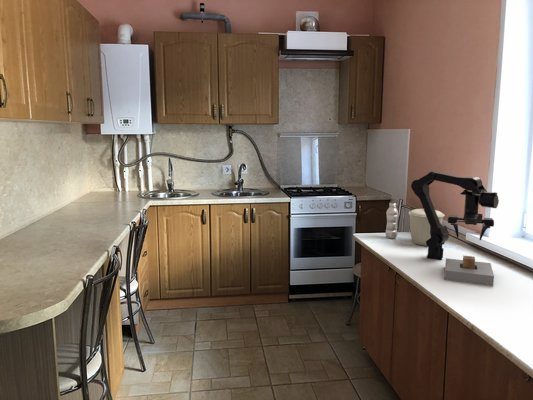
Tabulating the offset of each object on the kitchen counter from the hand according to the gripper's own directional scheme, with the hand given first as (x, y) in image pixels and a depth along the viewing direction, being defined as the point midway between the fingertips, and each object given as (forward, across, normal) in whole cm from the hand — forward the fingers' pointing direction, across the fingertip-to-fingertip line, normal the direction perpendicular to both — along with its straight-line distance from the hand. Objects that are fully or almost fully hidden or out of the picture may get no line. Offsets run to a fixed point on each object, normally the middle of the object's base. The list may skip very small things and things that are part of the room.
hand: (468, 239), depth 199 cm
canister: (+12, -20, +31) cm, 39 cm away
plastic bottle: (+12, -38, +36) cm, 54 cm away
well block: (+12, 0, -16) cm, 20 cm away
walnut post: (+12, 0, -16) cm, 20 cm away
